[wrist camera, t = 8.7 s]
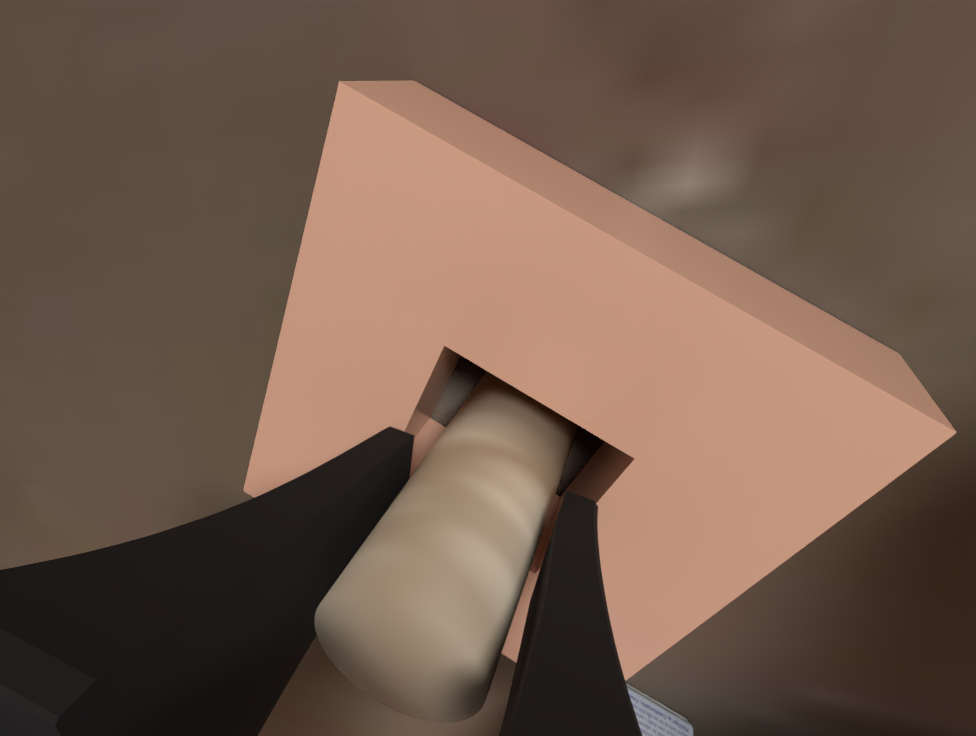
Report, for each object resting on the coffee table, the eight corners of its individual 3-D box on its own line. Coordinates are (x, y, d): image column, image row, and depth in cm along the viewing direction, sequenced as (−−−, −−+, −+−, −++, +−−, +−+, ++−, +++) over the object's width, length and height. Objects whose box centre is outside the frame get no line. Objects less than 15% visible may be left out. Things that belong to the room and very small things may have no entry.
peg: (594, 374, 14) (502, 645, 7) (567, 460, 16) (471, 746, 9) (488, 340, 15) (313, 562, 8) (472, 426, 16) (315, 671, 9)
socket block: (899, 353, 11) (956, 432, 9) (603, 620, 18) (588, 708, 15) (414, 80, 12) (339, 81, 9) (303, 435, 19) (243, 490, 16)
